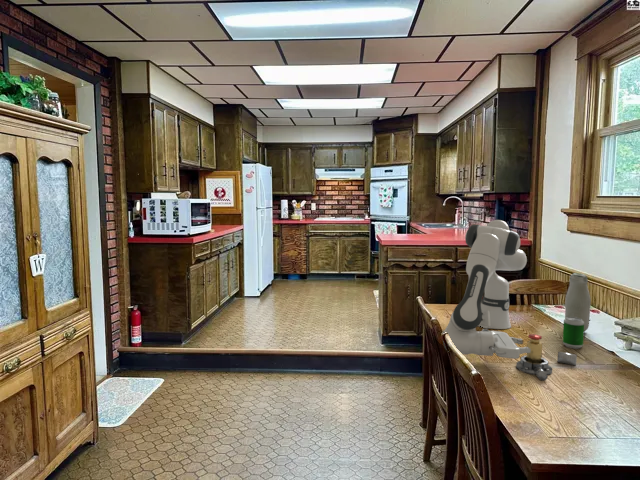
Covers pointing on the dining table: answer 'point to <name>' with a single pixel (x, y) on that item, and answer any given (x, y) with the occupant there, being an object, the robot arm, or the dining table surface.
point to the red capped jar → (534, 349)
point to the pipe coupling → (567, 358)
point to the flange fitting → (535, 368)
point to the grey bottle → (578, 299)
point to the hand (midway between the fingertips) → (526, 345)
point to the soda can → (573, 332)
